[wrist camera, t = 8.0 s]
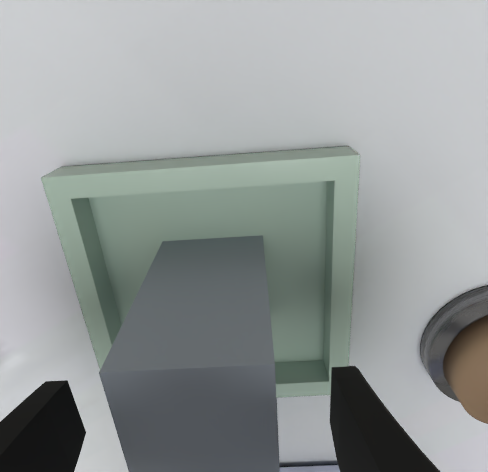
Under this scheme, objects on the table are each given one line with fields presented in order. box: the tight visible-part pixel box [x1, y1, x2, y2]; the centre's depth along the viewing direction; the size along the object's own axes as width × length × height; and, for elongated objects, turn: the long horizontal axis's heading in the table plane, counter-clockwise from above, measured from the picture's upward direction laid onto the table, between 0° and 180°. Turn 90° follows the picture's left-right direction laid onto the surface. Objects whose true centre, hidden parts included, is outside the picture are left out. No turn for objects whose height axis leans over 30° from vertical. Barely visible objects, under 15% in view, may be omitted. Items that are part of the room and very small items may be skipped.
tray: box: [41, 146, 360, 398], centre depth 15 cm, size 11×11×2 cm
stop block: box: [99, 235, 280, 472], centre depth 12 cm, size 4×4×7 cm
